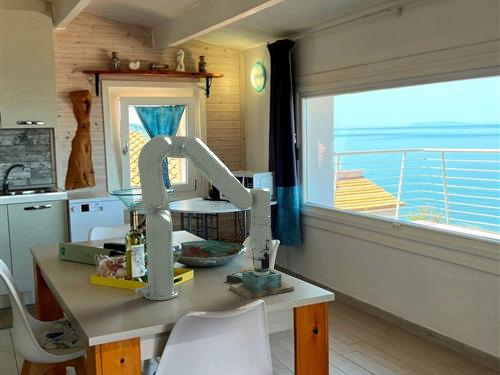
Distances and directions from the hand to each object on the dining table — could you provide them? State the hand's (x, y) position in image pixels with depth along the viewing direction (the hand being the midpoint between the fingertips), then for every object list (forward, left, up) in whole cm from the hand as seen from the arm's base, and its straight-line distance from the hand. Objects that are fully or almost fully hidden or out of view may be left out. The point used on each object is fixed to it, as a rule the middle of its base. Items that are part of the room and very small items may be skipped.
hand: (261, 266), depth 211 cm
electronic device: (+2, +17, -10) cm, 20 cm away
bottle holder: (0, 0, -9) cm, 9 cm away
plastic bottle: (0, 0, -7) cm, 7 cm away
